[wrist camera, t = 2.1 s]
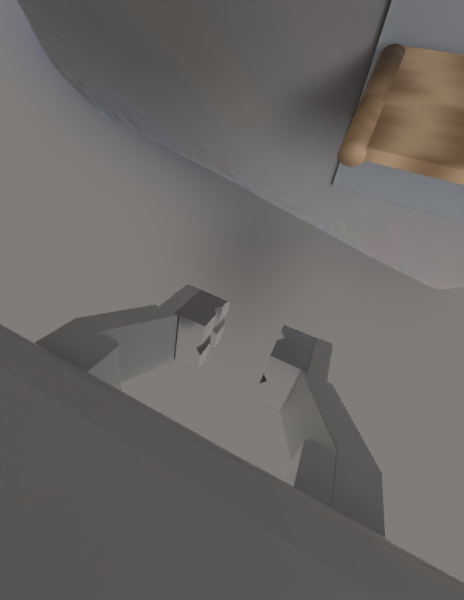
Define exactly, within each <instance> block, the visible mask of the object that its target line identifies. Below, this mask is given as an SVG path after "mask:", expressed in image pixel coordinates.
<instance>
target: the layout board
mask: <svg viewBox="0 0 464 600" xmlns="http://www.w3.org/2000/svg"><path fill="white" fill-rule="evenodd" d="M391 44H400V45H402V46H408V47H415V48H422V49H429V50H436V51H444V52H451V53H458V54H464V0H392V1H391V4H390V7H389V10H388V13H387V16H386V20H385V23H384V26H383V29H382V32H381V35H380V38H379V41H378V44H377V48H376V51H375V54H374V57H373V60H372V63H371V66H370V69H369V72H368V76H367V79H366V82H365V85H364V88H363V91H362V94H361V97H360V100H361V98H362V95H363V93H364V91H365V88H366V86H367V84H368V81H369V79H370V77H371V74H372V72H373V70H374V67H375V65H376V62H377V60H378V58H379V55H380V53H381V52H382V50H383V49H384V48H385V47H387V46H388V45H391ZM360 100H359V102H360ZM358 105H359V104H358ZM332 186H333V187H337V188H340V189H344V190H347V191H351V192H355V193H358V194H362V195H366V196H369V197H373V198H377V199H380V200H384V201H388V202H391V203H395V204H399V205H402V206H406V207H410V208H413V209H417V210H421V211H424V212H428V213H432V214H435V215H439V216H443V217H446V218H450V219H454V220H457V221H461V222H464V185H462V184H457V183H453V182H449V181H445V180H441V179H437V178H433V177H429V176H425V175H421V174H416V173H412V172H408V171H404V170H400V169H396V168H392V167H388V166H384V165H380V164H375V163H371V162H367V161H364V162H363V163H362V164H360V165H359V166H356V167H348V166H345V165H343V164H341V163H339V166H338V169H337V172H336V175H335V178H334V181H333V185H332Z"/></svg>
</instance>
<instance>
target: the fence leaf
mask: <svg viewBox="0 0 464 600" xmlns="http://www.w3.org/2000/svg"><path fill="white" fill-rule="evenodd" d="M337 157H338V160H339V162H340V163H341V164H343V165H345V166H348V167H356V166H359V165H360V164H362V163H363V162H364V161H367V162H371V163H375V164H380V165H384V166H388V167H392V168H396V169H400V170H404V171H408V172H412V173H416V174H421V175H425V176H429V177H433V178H437V179H441V180H445V181H449V182H453V183H457V184H462V185H464V54H458V53H451V52H444V51H436V50H429V49H422V48H415V47H408V46H402V45H400V44H391V45H388V46H387V47H385V48H384V49H383V50H382V52H381V53H380V55H379V58H378V60H377V62H376V65H375V67H374V70H373V72H372V74H371V77H370V79H369V81H368V84H367V86H366V88H365V91H364V93H363V95H362V98H361V100H360V102H359V105H358V107H357V109H356V112H355V114H354V116H353V119H352V121H351V123H350V126H349V128H348V131H347V133H346V135H345V138H344V140H343V142H342V145H341V147H340V149H339V152H338V155H337Z"/></svg>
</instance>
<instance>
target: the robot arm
mask: <svg viewBox="0 0 464 600" xmlns="http://www.w3.org/2000/svg"><path fill="white" fill-rule="evenodd" d="M228 309H229V302H228V301H226V300H223V299H221V298H219V297H217V296H214V295H212V294H210V293H207V292H205V291H203V290H201V289H198V288H196V287H193V286H190V285H186V286H184V287H183V288H182V289H181V290H179V291H178V292H177V293H175V294H174V295H173V296H172V297H171V298H169V299H168V300H166V301H165V302H164V303H163V304H161V305H160V306H157V305H150V306H145V307H138V308H133V309H127V310H121V311H115V312H109V313H103V314H98V315H92V316H86V317H80V318H75V319H73V320H72V321H70V322H68V323H67V324H65V325H63V326H62V327H60V328H58V329H57V330H55V331H54V332H52V333H50V334H49V335H47V336H45V337H43V338H42V339H40V340H38V341H37V342H35V343H34V342H32V341H30V340H29V339H27V338H25V337H23V336H22V335H20V334H18V333H16V332H14V331H13V330H11V329H9V328H7V327H5V326H3V325H2V324H0V600H464V581H462V580H460V579H458V578H457V577H455V576H453V575H451V574H449V573H448V572H446V571H444V570H442V569H441V568H439V567H437V566H435V565H433V564H432V563H430V562H428V561H426V560H424V559H422V558H421V557H419V556H417V555H415V554H414V553H412V552H410V551H408V550H406V549H405V548H403V547H401V546H399V545H397V544H396V543H394V542H392V541H390V540H388V539H386V538H385V529H384V508H383V489H382V473H381V471H380V469H379V467H378V465H377V464H376V462H375V460H374V458H373V456H372V455H371V453H370V451H369V449H368V447H367V446H366V444H365V442H364V440H363V439H362V437H361V435H360V433H359V431H358V430H357V428H356V426H355V424H354V422H353V420H352V419H351V417H350V415H349V413H348V411H347V410H346V408H345V406H344V404H343V402H342V401H341V399H340V397H339V395H338V394H337V392H336V390H335V388H334V386H333V384H330V383H329V382H327V380H328V374H329V367H330V360H331V354H332V348H333V345H332V343H329V342H327V341H324V340H321V339H319V338H316V337H312V336H310V335H307V334H305V333H303V332H300V331H297V330H295V329H292V328H290V327H287V326H285V325H284V326H283V328H282V330H281V333H280V335H279V338H278V340H277V341H276V344H275V346H274V348H273V351H272V353H271V355H270V358H269V360H268V363H267V365H266V368H265V370H264V374H263V376H262V379H261V381H260V383H259V386H258V388H257V391H256V394H255V397H254V398H255V399H256V400H258V401H260V402H262V403H264V404H266V405H267V406H269V407H271V408H273V409H275V410H277V411H279V412H280V416H281V421H282V425H283V429H284V434H285V438H286V442H287V446H288V450H289V455H290V459H291V461H290V463H289V465H288V466H287V467H286V469H285V470H284V472H283V473H282V475H281V477H280V478H277V477H275V476H273V475H271V474H270V473H268V472H266V471H264V470H262V469H261V468H259V467H257V466H255V465H253V464H251V463H250V462H248V461H246V460H244V459H243V458H241V457H239V456H237V455H235V454H234V453H232V452H230V451H228V450H226V449H225V448H223V447H221V446H219V445H217V444H215V443H214V442H212V441H210V440H208V439H206V438H205V437H203V436H201V435H199V434H197V433H196V432H194V431H192V430H190V429H188V428H187V427H185V426H183V425H181V424H180V423H178V422H176V421H174V420H172V419H171V418H169V417H167V416H165V415H163V414H162V413H160V412H158V411H156V410H154V409H153V408H151V407H149V406H147V405H145V404H143V403H142V402H140V401H138V400H136V399H135V398H133V397H131V396H129V395H127V394H126V393H124V392H122V391H121V383H123V382H125V381H128V380H130V379H132V378H135V377H137V376H139V375H142V374H144V373H146V372H149V371H151V370H154V369H156V368H158V367H161V366H163V365H165V364H167V363H170V362H172V361H173V360H176V361H178V362H180V363H182V364H185V365H187V366H189V367H191V368H193V369H196V370H198V369H199V368H200V366H201V365H202V364H203V362H204V361H205V360H206V358H207V357H208V352H209V350H210V349H213V348H214V347H215V346H216V345H217V343H218V342H219V340H220V338H221V336H222V333H223V330H224V327H225V321H224V319H223V318H224V317H225V316H226V314H227V313H228Z"/></svg>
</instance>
